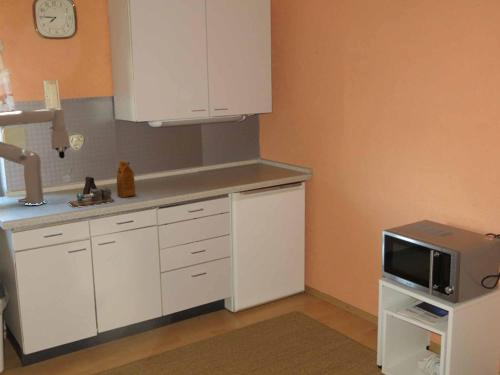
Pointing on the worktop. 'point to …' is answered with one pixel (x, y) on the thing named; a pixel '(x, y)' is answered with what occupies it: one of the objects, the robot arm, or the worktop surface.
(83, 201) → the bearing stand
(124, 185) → the coffee package
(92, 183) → the phone stand
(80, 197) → the shaft
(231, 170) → the worktop surface
